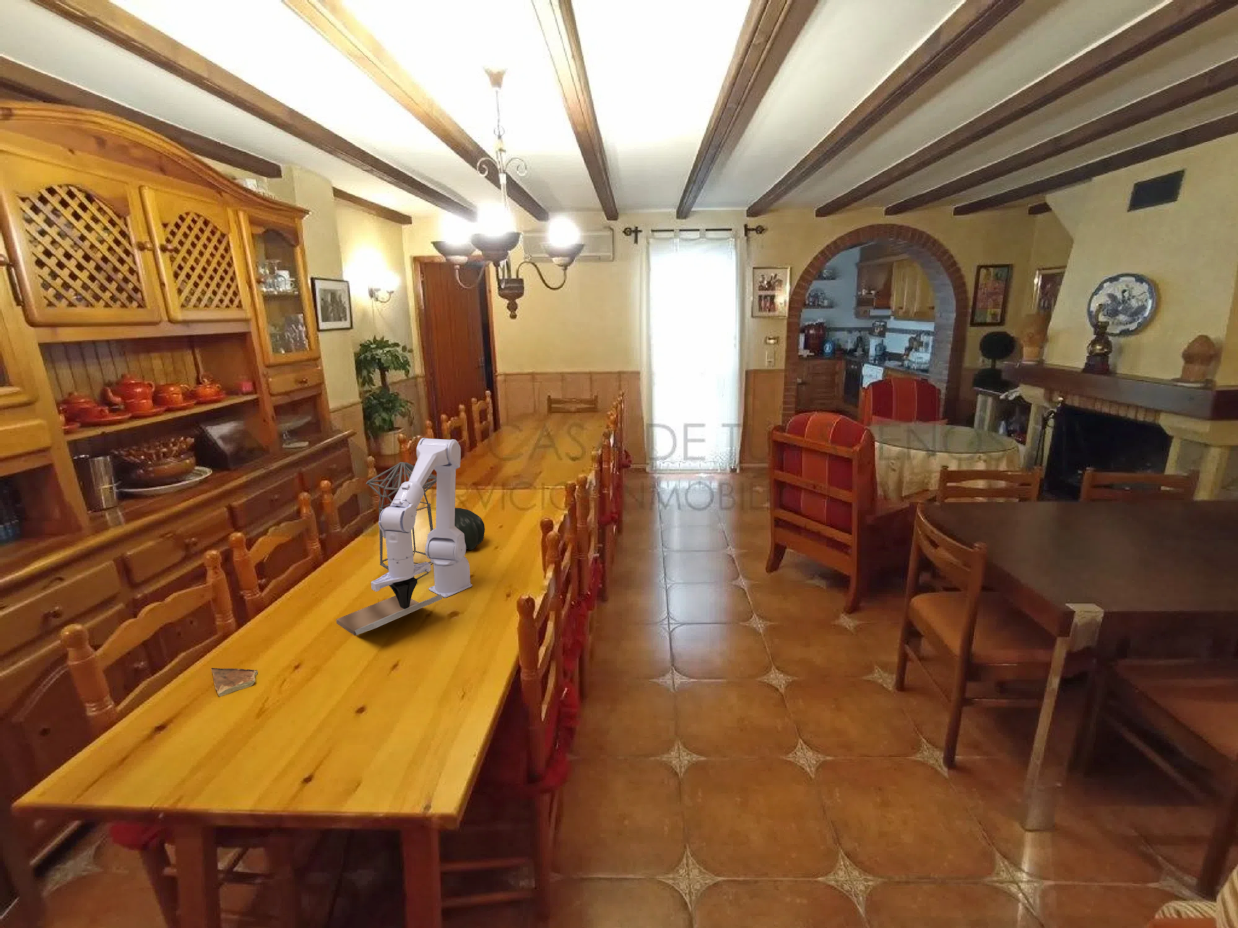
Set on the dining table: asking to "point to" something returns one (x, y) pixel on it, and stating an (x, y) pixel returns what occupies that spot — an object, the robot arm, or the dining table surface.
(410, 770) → the dining table surface
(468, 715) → the dining table surface
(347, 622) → the walnut board
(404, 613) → the grey plank
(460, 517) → the squash
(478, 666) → the dining table surface
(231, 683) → the shard
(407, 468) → the geometric lantern
